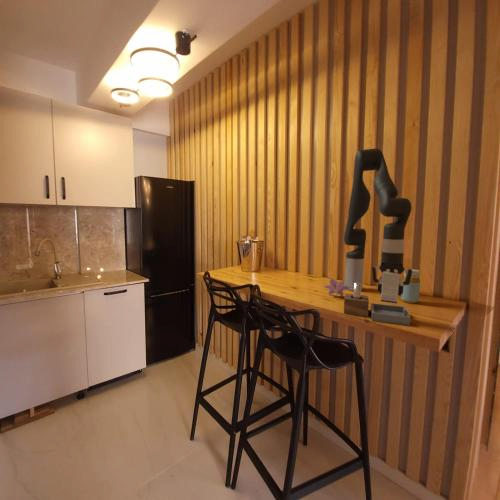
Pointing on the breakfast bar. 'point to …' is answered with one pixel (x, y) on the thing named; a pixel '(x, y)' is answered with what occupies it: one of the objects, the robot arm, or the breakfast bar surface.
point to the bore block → (356, 305)
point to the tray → (389, 314)
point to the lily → (337, 287)
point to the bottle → (411, 288)
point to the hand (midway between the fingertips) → (389, 294)
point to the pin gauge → (357, 290)
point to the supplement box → (390, 287)
